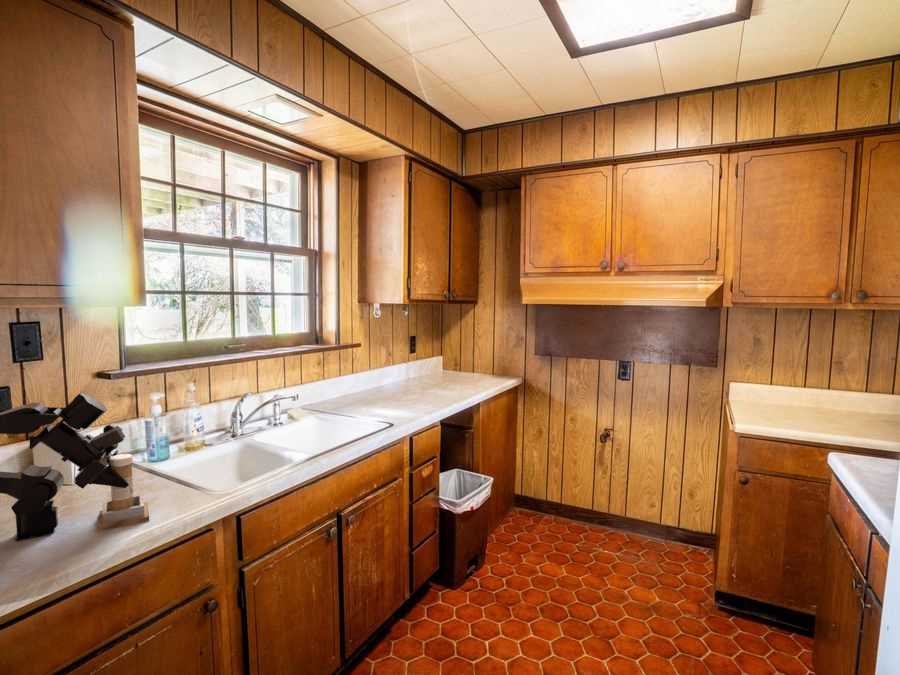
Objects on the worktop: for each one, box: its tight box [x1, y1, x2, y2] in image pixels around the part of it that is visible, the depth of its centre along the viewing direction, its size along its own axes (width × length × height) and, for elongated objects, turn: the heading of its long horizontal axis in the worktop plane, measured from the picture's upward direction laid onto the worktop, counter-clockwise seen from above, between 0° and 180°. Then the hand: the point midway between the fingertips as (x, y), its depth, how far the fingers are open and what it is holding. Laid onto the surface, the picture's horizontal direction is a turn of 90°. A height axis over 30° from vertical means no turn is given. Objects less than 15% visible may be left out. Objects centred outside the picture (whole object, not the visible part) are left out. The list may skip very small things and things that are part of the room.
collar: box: [102, 493, 145, 524], centre depth 116 cm, size 8×8×2 cm
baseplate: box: [97, 501, 150, 532], centre depth 116 cm, size 10×10×1 cm
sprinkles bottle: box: [110, 453, 134, 511], centre depth 115 cm, size 5×5×13 cm
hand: (128, 482), depth 116 cm, fingers closed on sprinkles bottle, 4 cm apart
